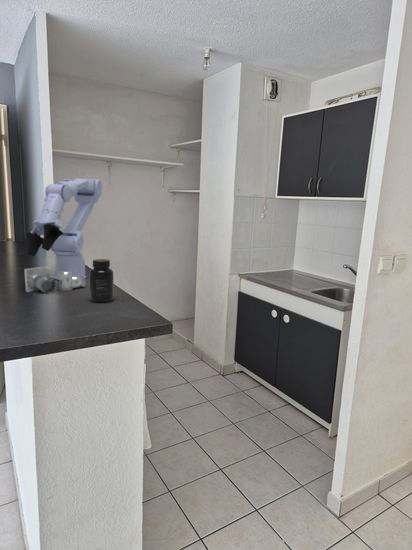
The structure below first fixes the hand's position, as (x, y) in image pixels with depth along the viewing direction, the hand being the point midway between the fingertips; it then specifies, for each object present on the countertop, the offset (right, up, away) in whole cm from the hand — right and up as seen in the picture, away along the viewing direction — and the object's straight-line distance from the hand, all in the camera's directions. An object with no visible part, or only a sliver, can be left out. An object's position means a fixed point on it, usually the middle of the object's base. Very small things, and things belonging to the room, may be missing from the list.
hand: (38, 252), depth 114 cm
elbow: (+7, -11, +8) cm, 16 cm away
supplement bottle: (+20, -15, -2) cm, 25 cm away
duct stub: (0, -12, +4) cm, 13 cm away
